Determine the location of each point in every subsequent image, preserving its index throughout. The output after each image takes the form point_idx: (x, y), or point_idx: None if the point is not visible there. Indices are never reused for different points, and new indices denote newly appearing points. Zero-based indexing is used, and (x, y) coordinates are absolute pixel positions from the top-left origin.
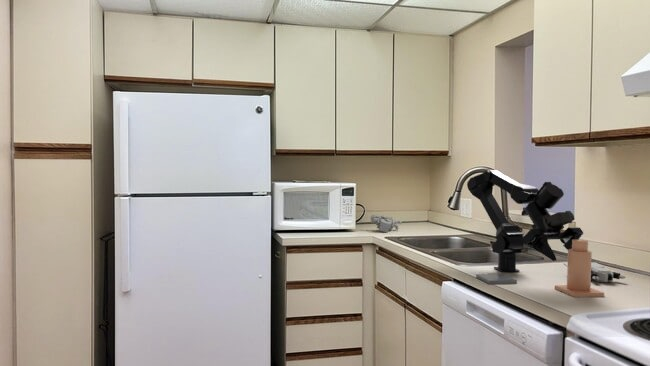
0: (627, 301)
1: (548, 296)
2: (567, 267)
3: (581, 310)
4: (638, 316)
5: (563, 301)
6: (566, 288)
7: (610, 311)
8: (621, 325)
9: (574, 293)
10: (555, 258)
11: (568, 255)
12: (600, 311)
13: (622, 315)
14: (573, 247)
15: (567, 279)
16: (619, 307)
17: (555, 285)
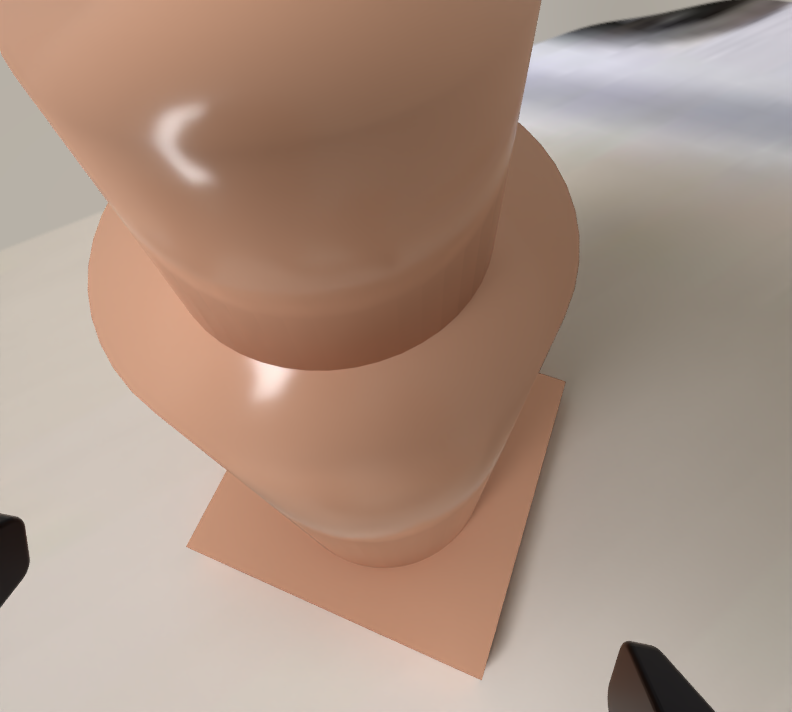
0: None
1: (770, 500)
2: (467, 497)
3: (783, 193)
4: (556, 54)
5: (749, 353)
6: (482, 522)
7: (620, 132)
8: (767, 20)
9: (564, 382)
10: (655, 652)
11: (523, 399)
12: (679, 149)
13: (621, 82)
14: (501, 205)
15: (471, 511)
16: None
17: (477, 671)
